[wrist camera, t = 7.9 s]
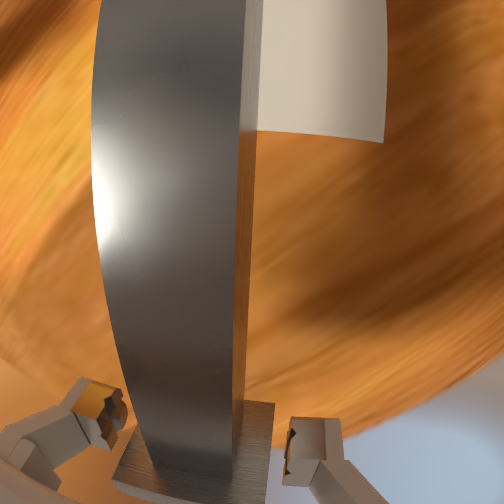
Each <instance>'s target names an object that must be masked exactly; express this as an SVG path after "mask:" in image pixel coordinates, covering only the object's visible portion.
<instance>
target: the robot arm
mask: <svg viewBox="0 0 504 504" xmlns="http://www.w3.org/2000/svg"><path fill="white" fill-rule="evenodd" d="M122 397H123V394H122V391H121V389H119V388H116V387H113V386H109V385H106V384H103V383H100V382H97V381H94V380H91V379H88V378H84V377H81V378H79V379H78V380H77V382H76V383H75V384H74V386H73V387H72V388H71V390H70V391H69V392H68V394H67V395H66V396H65V398H64V399H63V400H62V402H61V403H60V405H59V406H52V407H50V408H48V409H45V410H43V411H41V412H39V413H36V414H34V415H32V416H30V417H27V418H24V419H22V420H20V421H17V422H15V423H13V424H10V425H8V426H6V427H5V428H4V429H3V430H2V432H1V433H0V504H81V503H79V502H77V501H75V500H73V499H71V498H68V497H66V496H64V495H62V494H60V493H58V492H57V490H58V488H59V487H60V484H61V483H62V481H61V478H60V477H59V476H58V475H57V474H56V472H55V471H54V469H55V468H57V467H58V466H60V465H61V464H63V463H65V462H66V461H68V460H69V459H71V458H72V457H74V456H76V455H77V454H79V453H80V452H82V451H83V450H85V449H86V448H88V447H89V446H90V445H93V446H96V447H99V448H102V449H105V450H108V451H112V449H113V447H114V445H115V443H116V441H117V439H118V435H117V431H119V430H121V429H123V427H124V425H125V423H126V420H127V415H128V412H127V406H126V404H125V403H124V402H123V401H122V400H121V399H122ZM284 458H285V459H286V460H285V464H284V468H283V480H282V485H286V486H302V487H309V489H310V491H311V492H312V494H313V496H314V497H315V499H316V500H317V502H318V503H319V504H389V503H388V502H387V501H386V500H385V499H384V498H383V497H382V496H381V495H380V493H379V492H378V491H377V490H376V489H375V488H374V487H373V486H372V485H371V484H370V483H369V482H368V481H367V480H366V478H365V477H364V476H363V475H362V474H361V473H360V472H359V471H358V470H357V469H356V467H355V466H354V465H353V464H352V463H351V462H350V461H349V460H344V451H343V441H342V431H341V421H340V419H339V418H316V417H292V416H291V418H290V422H289V431H287V437H286V443H285V452H284Z"/></svg>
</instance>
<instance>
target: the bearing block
mask: <svg viewBox="0 0 504 504" xmlns="http://www.w3.org/2000/svg"><path fill="white" fill-rule="evenodd" d="M386 96H387V9H386V0H263V20H262V40H261V60H260V80H259V101H258V121H257V130H262V131H279V132H292V133H304V134H315V135H325V136H334V137H342V138H350V139H357V140H364V141H371V142H378V143H383V141H384V129H385V115H386Z"/></svg>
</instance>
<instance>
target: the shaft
mask: <svg viewBox="0 0 504 504" xmlns="http://www.w3.org/2000/svg"><path fill="white" fill-rule="evenodd" d="M262 20H263V0H102V2H101V8H100V15H99V22H98V29H97V37H96V46H95V56H94V67H93V82H92V103H91V162H92V184H93V199H94V211H95V222H96V231H97V240H98V248H99V256H100V263H101V270H102V276H103V283H104V289H105V294H106V300H107V305H108V310H109V315H110V320H111V325H112V330H113V334H114V339H115V343H116V347H117V352H118V356H119V360H120V364H121V367H122V371H123V375H124V379H125V382H126V386H127V389H128V393H129V396H130V400H131V403H132V406H133V409H134V412H135V416H136V419H137V422H138V424H137V426H136V428H135V430H134V432H133V434H132V437H131V439H130V441H129V443H128V445H127V447H126V449H125V451H124V453H123V455H122V458H121V459H120V462H119V464H118V466H117V468H116V470H115V472H114V474H113V477H112V481H113V482H114V484H115V485H116V487H117V488H118V490H119V491H120V492H122V493H125V494H128V495H131V496H134V497H137V498H141V499H144V500H147V501H151V502H154V503H158V504H265V496H266V488H267V479H268V470H269V461H270V451H271V441H272V431H273V421H274V410H275V403H269V402H259V401H250V400H244V390H245V369H246V348H247V327H248V306H249V285H250V265H251V244H252V223H253V203H254V182H255V162H256V141H257V121H258V101H259V80H260V60H261V40H262Z"/></svg>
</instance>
